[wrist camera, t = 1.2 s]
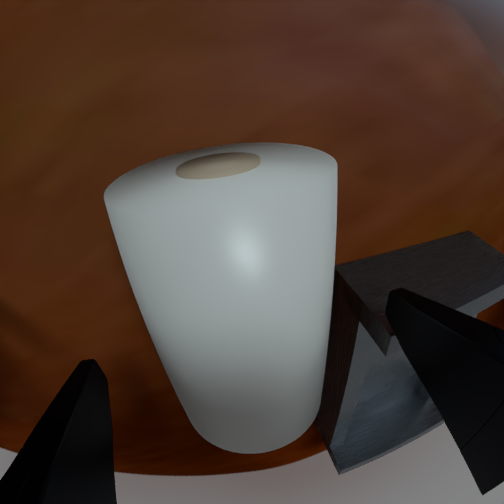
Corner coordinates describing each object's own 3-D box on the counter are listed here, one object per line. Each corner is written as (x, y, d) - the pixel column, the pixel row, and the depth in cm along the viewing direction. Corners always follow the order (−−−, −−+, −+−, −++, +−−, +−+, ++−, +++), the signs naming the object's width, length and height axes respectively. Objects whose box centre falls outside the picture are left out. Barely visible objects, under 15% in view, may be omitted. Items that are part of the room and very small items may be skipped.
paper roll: (120, 161, 9) (75, 236, 4) (286, 133, 10) (388, 177, 5) (179, 361, 14) (197, 468, 9) (293, 334, 15) (342, 428, 10)
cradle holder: (468, 230, 14) (525, 271, 11) (415, 384, 21) (442, 423, 18) (333, 266, 13) (391, 336, 9) (316, 425, 20) (338, 475, 16)
